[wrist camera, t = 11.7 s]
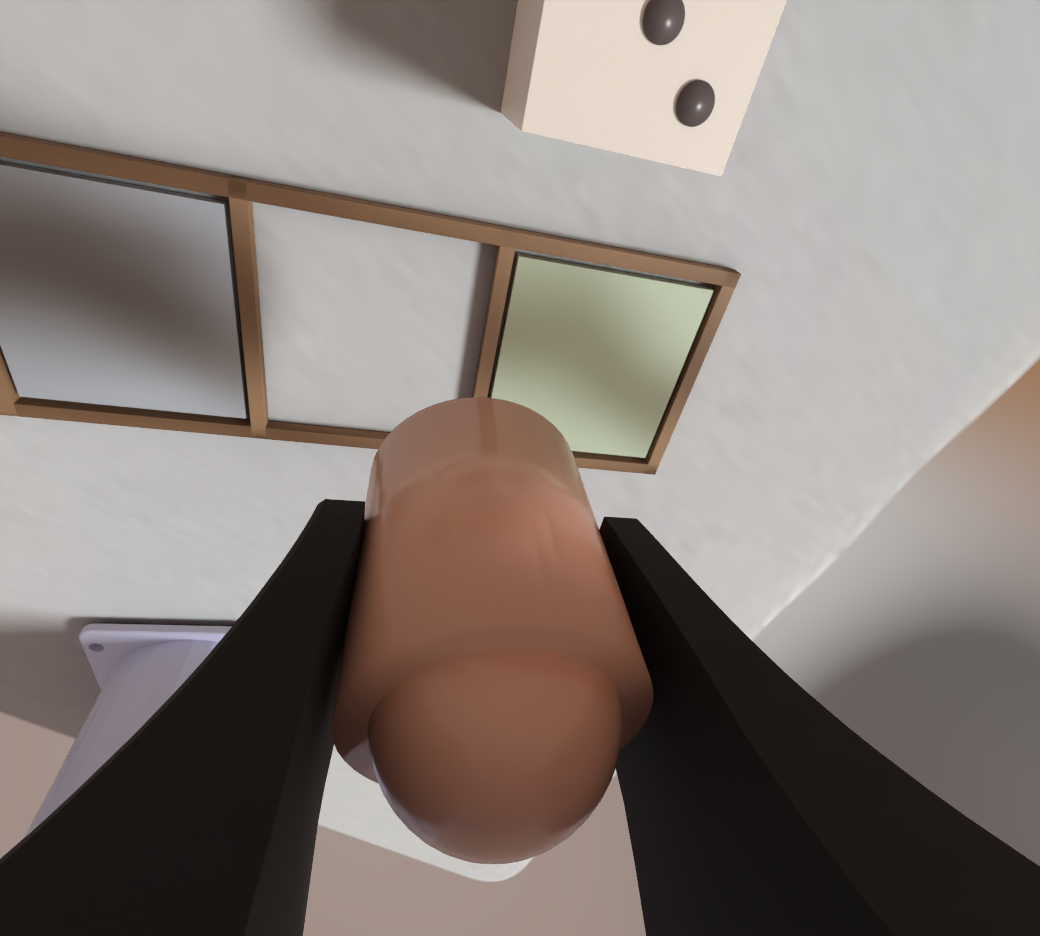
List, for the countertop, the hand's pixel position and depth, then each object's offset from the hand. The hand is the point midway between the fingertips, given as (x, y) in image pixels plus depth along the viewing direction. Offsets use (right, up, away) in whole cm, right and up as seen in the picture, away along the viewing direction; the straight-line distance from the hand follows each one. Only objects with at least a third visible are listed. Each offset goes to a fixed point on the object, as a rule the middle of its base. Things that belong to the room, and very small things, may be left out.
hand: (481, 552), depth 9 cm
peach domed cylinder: (0, +1, +1) cm, 2 cm away
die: (+3, +11, +3) cm, 12 cm away
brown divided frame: (-7, +5, +6) cm, 10 cm away
